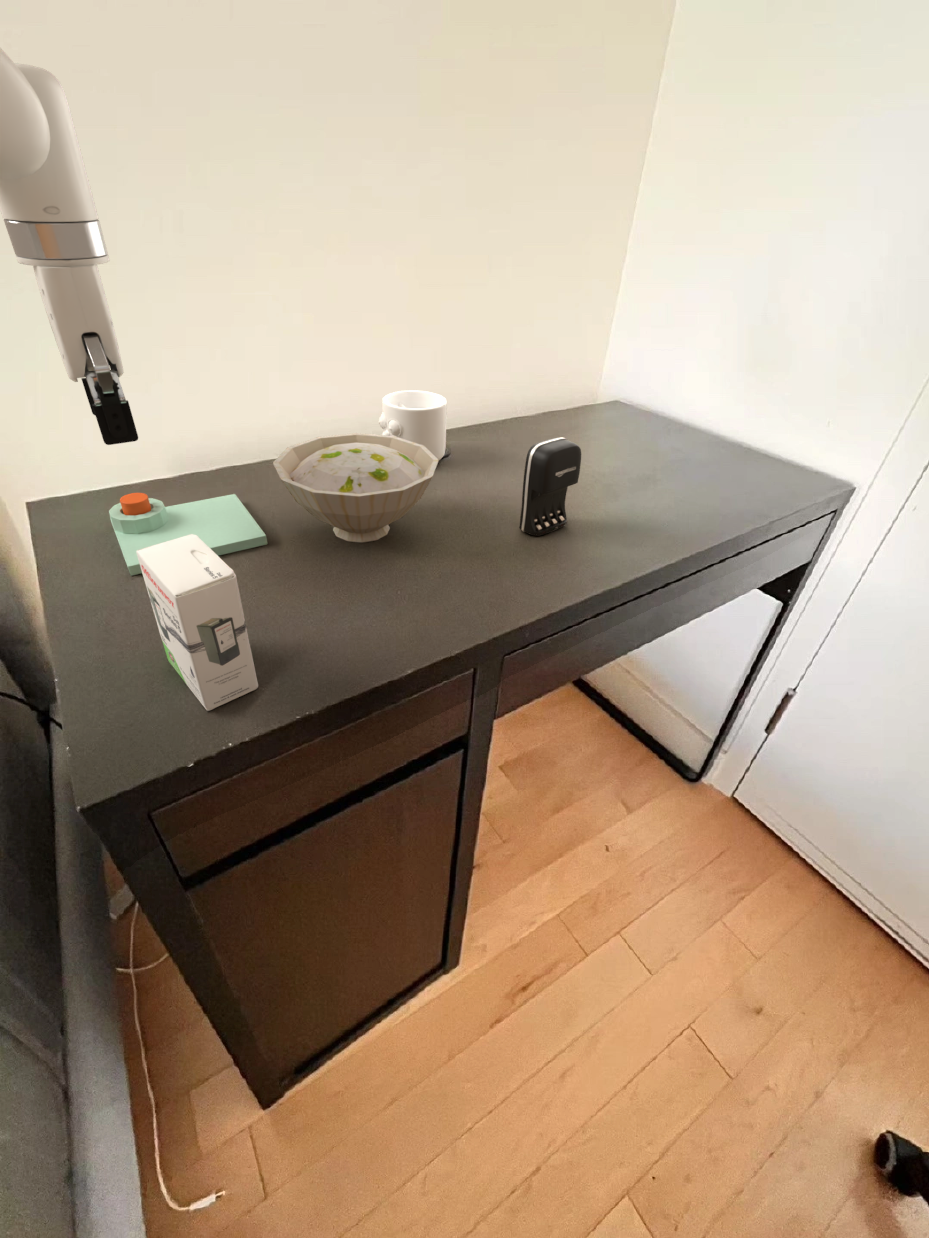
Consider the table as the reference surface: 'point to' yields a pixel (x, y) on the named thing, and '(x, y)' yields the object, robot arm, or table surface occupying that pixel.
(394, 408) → the mug
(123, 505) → the button
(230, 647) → the ink box
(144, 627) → the table surface
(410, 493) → the bowl
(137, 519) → the scale
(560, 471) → the battery charger
